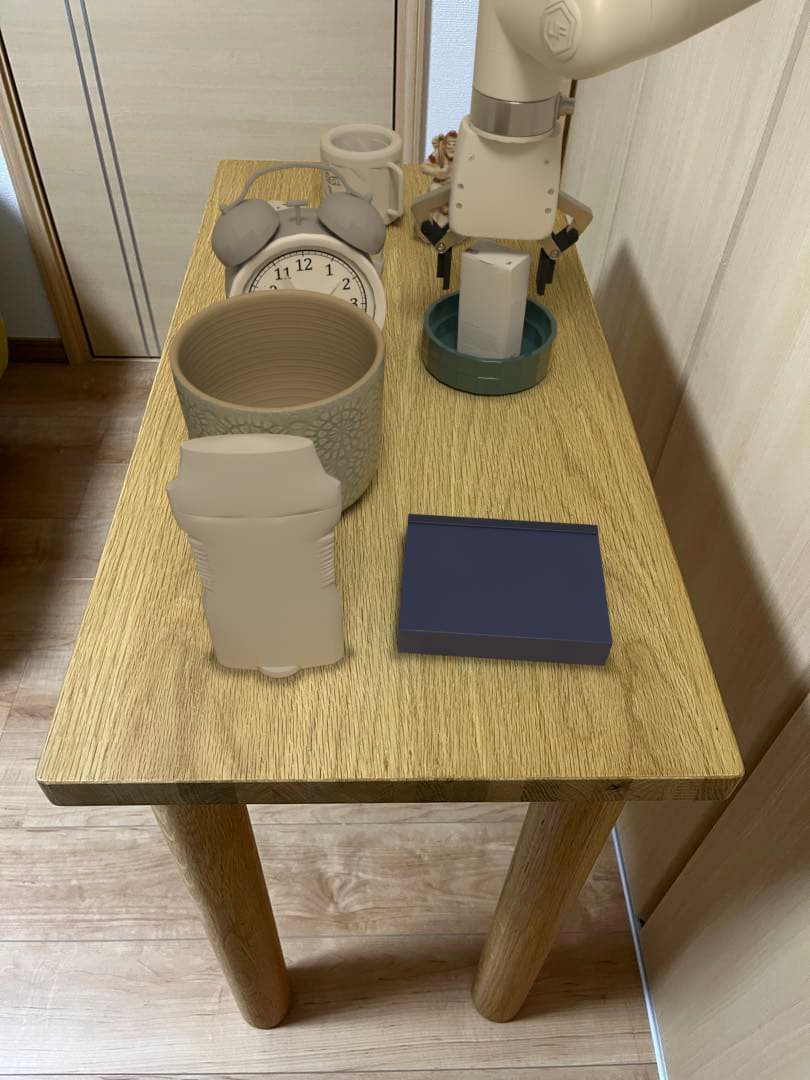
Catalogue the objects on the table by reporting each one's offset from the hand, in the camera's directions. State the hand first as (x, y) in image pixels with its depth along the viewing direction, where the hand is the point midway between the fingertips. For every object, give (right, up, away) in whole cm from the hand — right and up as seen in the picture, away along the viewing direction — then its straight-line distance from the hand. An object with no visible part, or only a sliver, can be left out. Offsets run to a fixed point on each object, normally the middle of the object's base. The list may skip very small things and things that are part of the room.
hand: (492, 286), depth 84 cm
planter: (-19, -21, -8) cm, 30 cm away
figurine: (-4, +15, +26) cm, 30 cm away
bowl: (0, -6, +6) cm, 9 cm away
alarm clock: (-19, -8, +4) cm, 21 cm away
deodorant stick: (-19, -35, -21) cm, 45 cm away
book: (-1, -31, -17) cm, 35 cm away
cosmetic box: (0, -6, +6) cm, 9 cm away
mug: (-14, +18, +29) cm, 37 cm away
